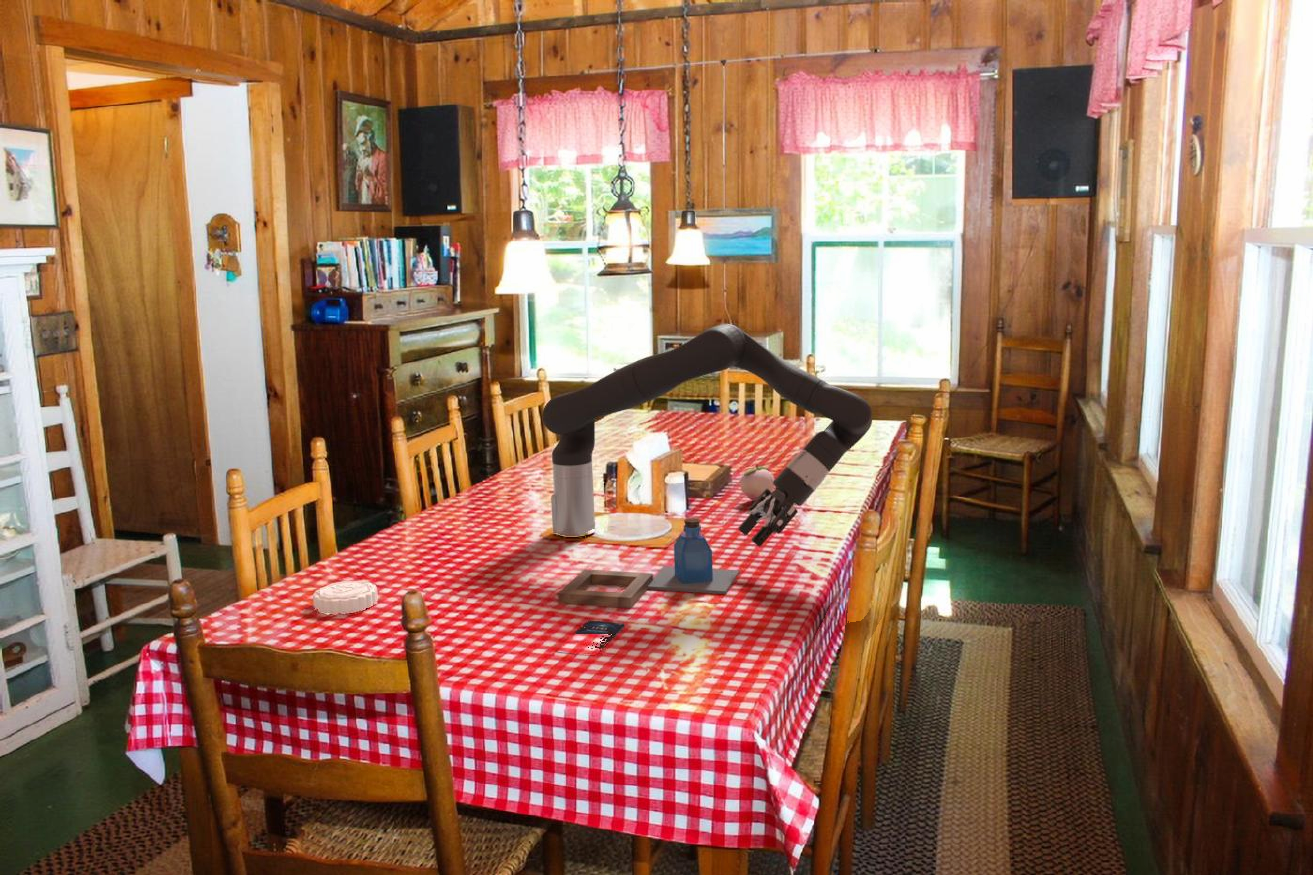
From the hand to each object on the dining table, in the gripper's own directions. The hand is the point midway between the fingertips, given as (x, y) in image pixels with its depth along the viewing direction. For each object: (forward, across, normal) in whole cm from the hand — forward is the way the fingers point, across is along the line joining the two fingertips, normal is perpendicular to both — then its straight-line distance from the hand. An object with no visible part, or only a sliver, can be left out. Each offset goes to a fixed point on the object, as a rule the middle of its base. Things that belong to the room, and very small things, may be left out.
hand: (748, 538), depth 215 cm
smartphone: (+32, +24, -20) cm, 44 cm away
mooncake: (+62, -9, -50) cm, 80 cm away
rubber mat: (+14, 0, -3) cm, 14 cm away
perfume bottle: (+13, 0, -3) cm, 14 cm away
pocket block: (+26, +1, -16) cm, 31 cm away
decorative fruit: (-9, -55, +21) cm, 60 cm away
